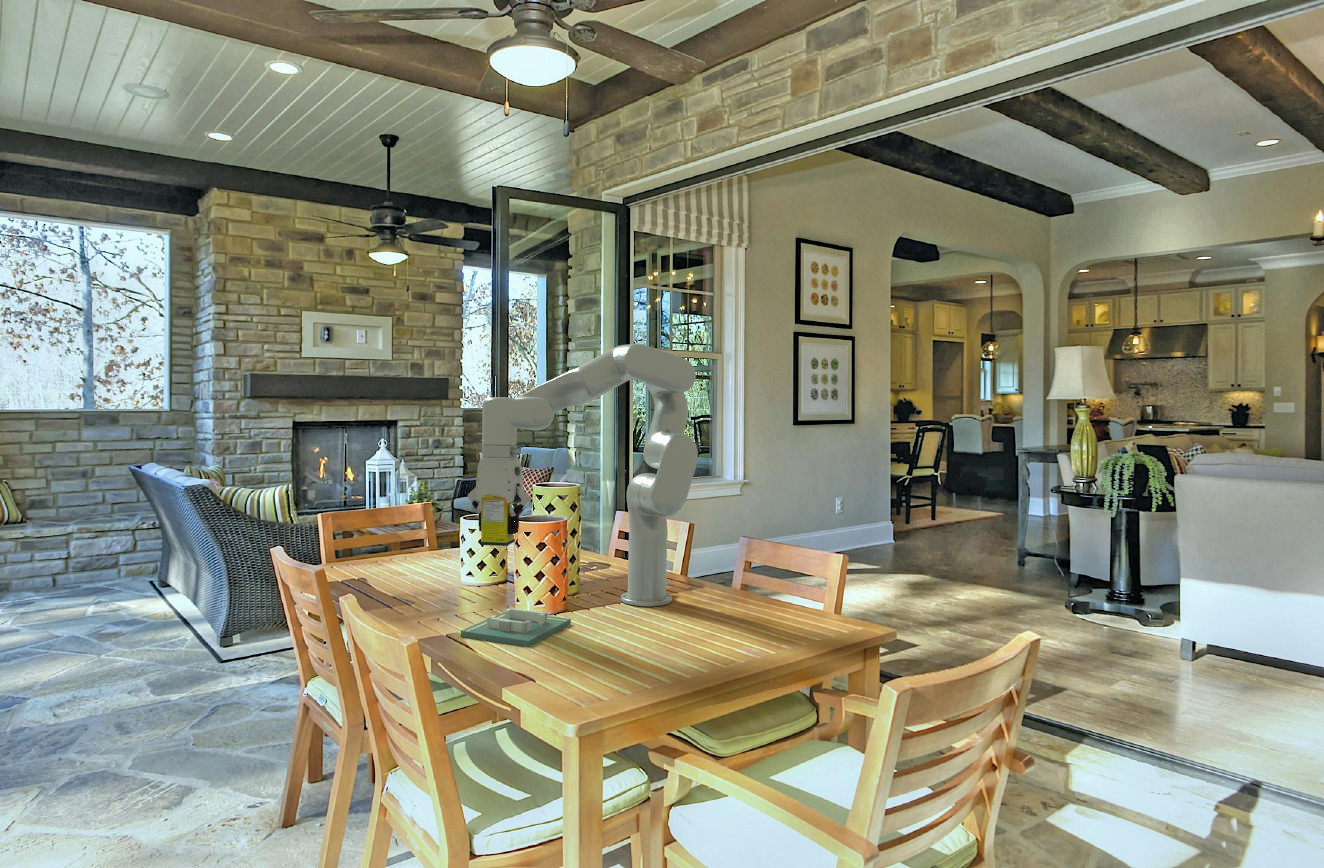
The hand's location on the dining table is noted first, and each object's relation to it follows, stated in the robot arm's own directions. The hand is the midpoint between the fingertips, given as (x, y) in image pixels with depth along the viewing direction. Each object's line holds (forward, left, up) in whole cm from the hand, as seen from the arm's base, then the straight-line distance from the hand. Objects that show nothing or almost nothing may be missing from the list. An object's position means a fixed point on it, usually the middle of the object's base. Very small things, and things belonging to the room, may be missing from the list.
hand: (498, 531), depth 179 cm
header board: (+7, +9, -19) cm, 23 cm away
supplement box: (0, 0, -3) cm, 3 cm away
